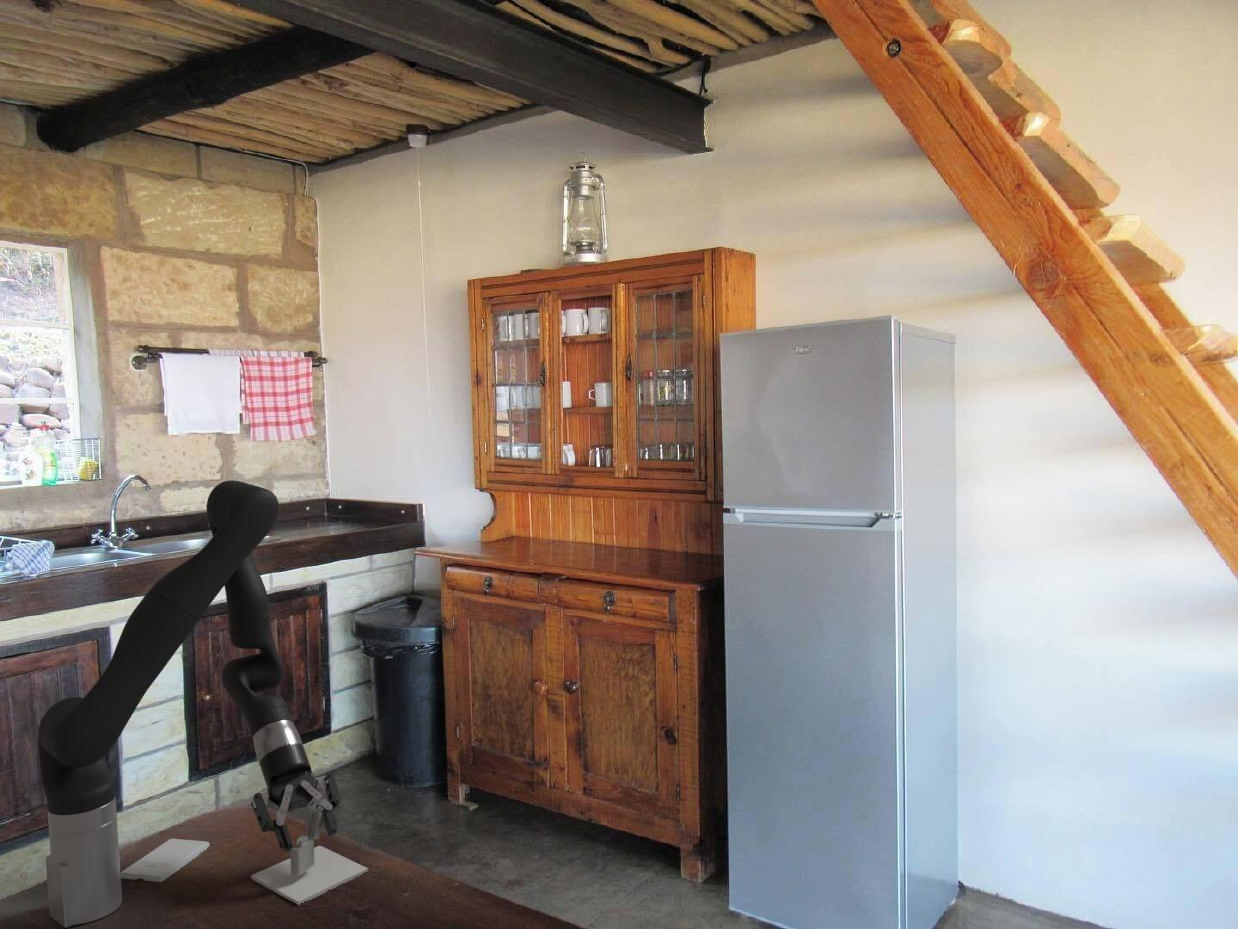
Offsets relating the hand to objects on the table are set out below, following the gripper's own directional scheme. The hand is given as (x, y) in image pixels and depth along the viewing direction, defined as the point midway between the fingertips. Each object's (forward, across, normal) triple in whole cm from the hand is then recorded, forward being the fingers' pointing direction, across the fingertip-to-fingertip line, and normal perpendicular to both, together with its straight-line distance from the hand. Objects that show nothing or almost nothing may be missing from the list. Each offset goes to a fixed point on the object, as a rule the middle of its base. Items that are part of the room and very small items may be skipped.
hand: (311, 842), depth 154 cm
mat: (+3, 0, +5) cm, 6 cm away
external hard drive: (-12, -16, +22) cm, 30 cm away
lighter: (+2, 0, +4) cm, 5 cm away
